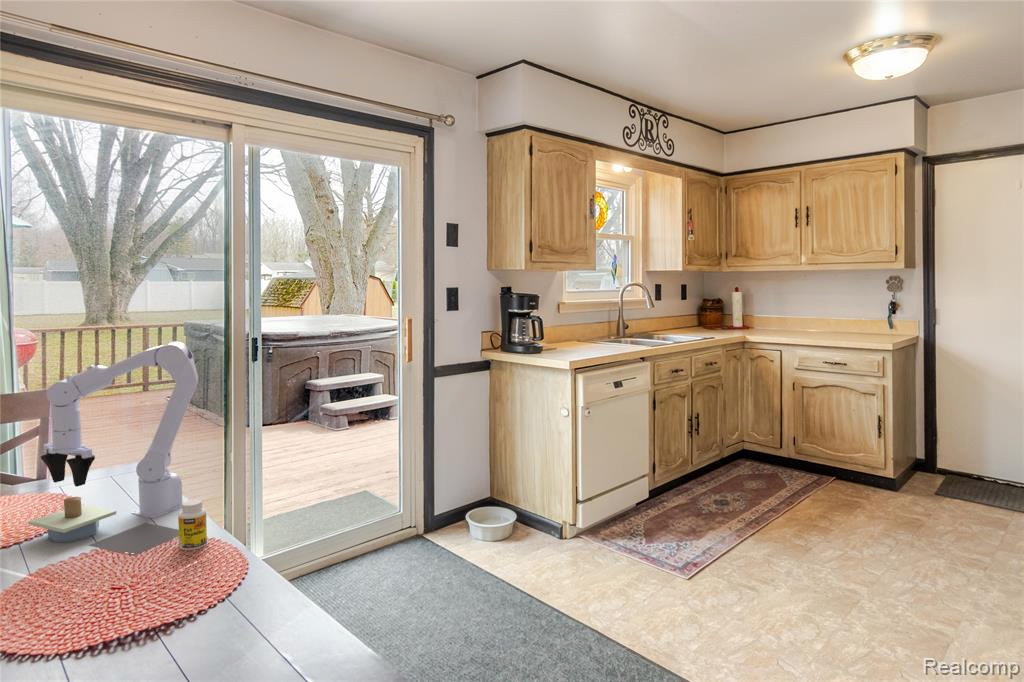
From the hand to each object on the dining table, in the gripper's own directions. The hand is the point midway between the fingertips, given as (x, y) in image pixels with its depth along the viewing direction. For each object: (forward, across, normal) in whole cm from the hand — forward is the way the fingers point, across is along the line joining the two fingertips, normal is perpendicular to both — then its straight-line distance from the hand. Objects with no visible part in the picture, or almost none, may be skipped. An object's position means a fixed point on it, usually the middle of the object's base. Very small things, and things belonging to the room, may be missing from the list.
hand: (69, 483), depth 151 cm
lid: (+5, +10, -6) cm, 13 cm away
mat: (+9, +26, -2) cm, 28 cm away
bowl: (+9, +10, -6) cm, 15 cm away
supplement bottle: (+10, +40, 0) cm, 41 cm away
